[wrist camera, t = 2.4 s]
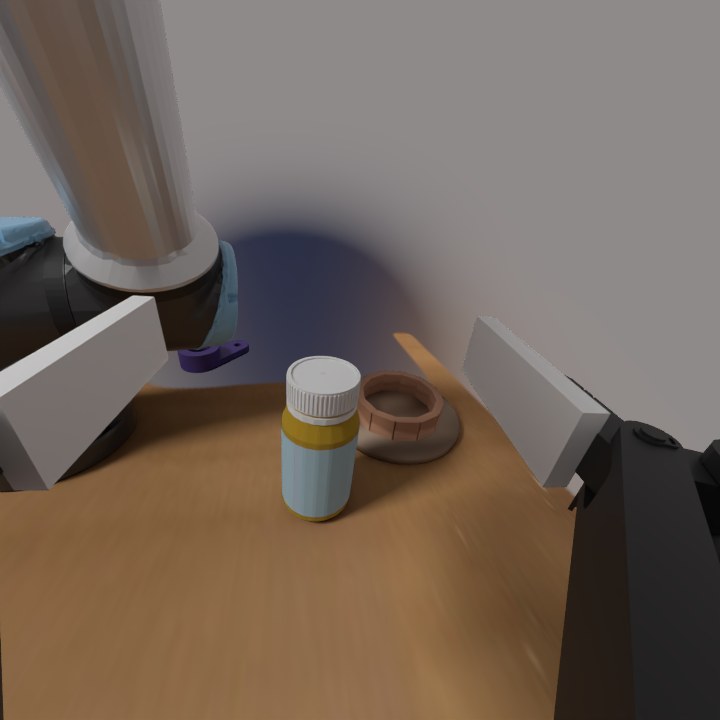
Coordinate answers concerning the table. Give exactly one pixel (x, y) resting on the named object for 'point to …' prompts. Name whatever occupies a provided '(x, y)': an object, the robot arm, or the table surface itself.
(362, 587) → the table surface
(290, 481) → the bottle
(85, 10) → the robot arm
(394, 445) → the bottle holder
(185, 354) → the lever
